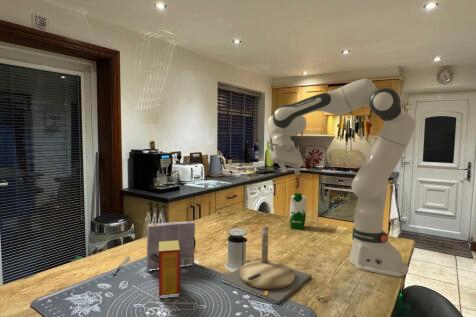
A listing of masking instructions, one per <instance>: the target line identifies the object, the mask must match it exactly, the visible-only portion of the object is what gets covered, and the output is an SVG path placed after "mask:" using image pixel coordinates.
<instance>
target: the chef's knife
mask: <svg viewBox="0 0 476 317" xmlns="http://www.w3.org/2000/svg"><path fill="white" fill-rule="evenodd" d="M129 261H131V257H130V256H126V257H125V258H124V260H123V261H122V262H121V263H120V264H119V266H118V267H116V269H118V268H120V267H121V266H123V265H124V264H127V263H128V262H129ZM129 263H130V262H129ZM129 263H128V264H129ZM120 269H121V268H120Z"/></svg>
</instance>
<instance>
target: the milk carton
mask: <svg viewBox="0 0 476 317" xmlns="http://www.w3.org/2000/svg"><path fill="white" fill-rule="evenodd" d="M289 203H290V204H289V224H290V229H292V230H302V231H304V228H305V224H306V215H307V198H306V195H303V193H300V192H295V193H294V195H293V194H292V195H291V197H290V202H289Z"/></svg>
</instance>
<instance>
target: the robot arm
mask: <svg viewBox="0 0 476 317" xmlns="http://www.w3.org/2000/svg"><path fill="white" fill-rule="evenodd" d="M363 107H369V109H370V110H371V112H372V113H373V114H374V115H375V116H377V117H378V118H380V119H381V120H382V121H383V125H382V128H381V130H380V132H379V134H378V136H377V138H376V140H375V142H374V144H373V146H372V148H371V150H370V152H369V154H368V155H367V156H366V158H365V159H364V162H362V165H361V166H360V167H359V169H358V171H357V173H356V175H354V178H353V179H352V181H351V190H352V192H353V194H354V195H355V196H356V197H357V201H356V206H355V208H354V220H353V221H354V223H353V224H354V225H353V227H352V232H351V233H352V235H351V237H352V244H351V245H352V246H351V249H350V250H351V251H350V253H349V257H348V261H349V262H350V264H352V265H354V266H355V267H356V269H358V270H360V271H365V272H371V273H376V274H381V275H385V276H390V277H396V278H401V277H404V276H406V275H407V274H408V272H409V266H408V265H407V264H406V263H405V262H403V257H402V253H401V252H400V250H399V249H398V248H396V247H395V246H394V245H392V244H391V243H390V242H389V240H388V239H389V232H387V233H386V232H385V231H384V215H385V214H384V213H385V206H386V202H387V193H388V186H389V178H390V177H391V175H392V174H393V172H394V171H395V169H396V168H397V166H398V164H399V162H400V161H401V158H402V157H403V155H404V153H405V151H406V149H407V147H408V145H409V143H410V141H411V139H412V136H413V134H414V131H415V127H416V123H417V122H416V120H415V119H414V117H413V116H411V115H409V113H405V112H404V111H403V107H404V100H403V97H402V95H401V94H400V92H398V91H397V90H395V89H393V88H390V87H381V88H379V89H378V88H377V87H376V84H375V82H373V81H372V80H371V79H369V78H362V79H358V80H355V81H353V82H350V83H347V84H345V85H342V86H340V87H338V88H336V89H333V90H330V91H326V92H323V93H319V94H315V95H313V96H309V97H306V98H304V99H301V100H299V101H296V102H293V103H290V104H281V105H280V106H278V107H277V108H276V109H275V110H274V112H273V115H271V116H270V117H269V118H268V120H267V130H268V134H269V137H270V139H271V142H270V143H269V145H268V146H269V156H270V160H271V162H272V163H274V164H278V166H279V167H280V169H281V171H282V173H287V172H288V167H291V168H294V174H295V175H297V176H299V175H300V174H301V172H300V169H301V167H303V166H304V160H303V156H302V154H301V151H300V146H299V145H298V144H296V143H295V142H294V141H293V140H292V139H291V137H294V136H297V135H300V134H301V133H303V132H304V131H305V129H306V127H307V119H306V118H305V117H304V116H305V115H308V114H312V113H313V112H314V113H315V112H324V113H328V114H331V115H334V116H335V115H336V116H341V115H344V114H348V113H350V112H353V111H355V110H357V109H359V108H363ZM286 166H288V167H286Z"/></svg>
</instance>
